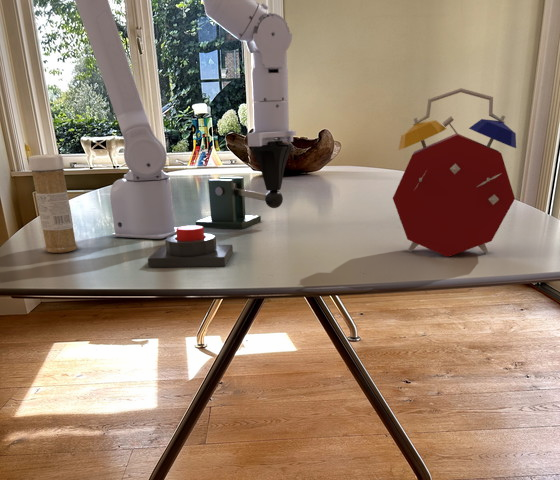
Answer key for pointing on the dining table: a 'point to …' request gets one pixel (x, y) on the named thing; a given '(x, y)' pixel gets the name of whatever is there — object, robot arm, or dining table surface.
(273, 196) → the lever
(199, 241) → the button box
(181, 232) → the button
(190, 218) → the dining table surface
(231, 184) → the bracket
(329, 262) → the dining table surface
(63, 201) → the sprinkles bottle
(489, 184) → the alarm clock
